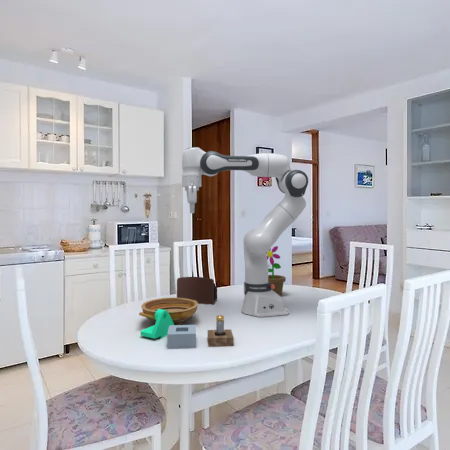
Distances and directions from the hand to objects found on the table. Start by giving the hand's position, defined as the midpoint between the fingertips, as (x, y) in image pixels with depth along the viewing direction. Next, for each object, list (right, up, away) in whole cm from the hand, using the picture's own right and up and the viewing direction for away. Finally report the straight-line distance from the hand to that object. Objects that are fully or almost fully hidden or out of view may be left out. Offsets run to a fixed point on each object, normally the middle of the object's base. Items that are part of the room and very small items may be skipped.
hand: (192, 213), depth 170 cm
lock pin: (+13, -49, -34) cm, 61 cm away
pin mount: (+13, -49, -34) cm, 61 cm away
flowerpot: (+42, -46, +40) cm, 74 cm away
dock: (-1, -49, -35) cm, 60 cm away
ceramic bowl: (-9, -48, -11) cm, 50 cm away
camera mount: (-11, -49, -26) cm, 56 cm away
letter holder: (0, -46, +25) cm, 53 cm away
